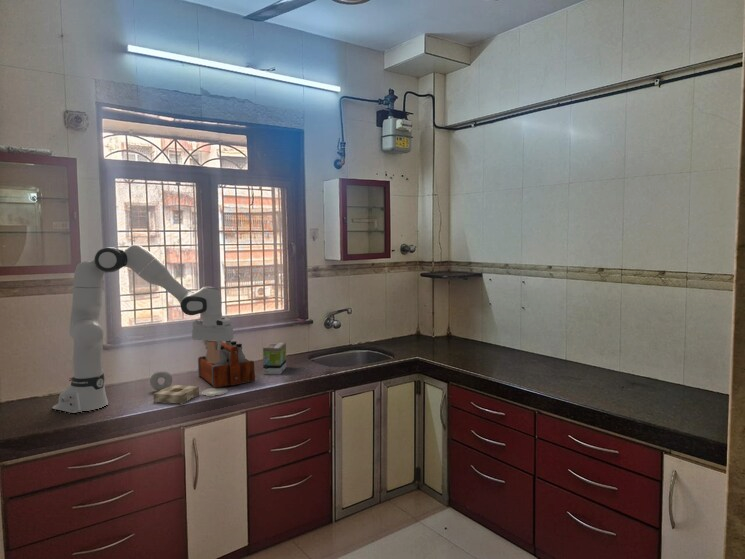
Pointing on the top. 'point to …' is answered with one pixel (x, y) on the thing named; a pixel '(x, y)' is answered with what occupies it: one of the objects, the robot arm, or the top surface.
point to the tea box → (274, 358)
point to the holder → (176, 394)
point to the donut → (156, 376)
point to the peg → (212, 352)
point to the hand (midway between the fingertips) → (213, 349)
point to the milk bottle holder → (227, 366)
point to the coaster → (214, 391)
